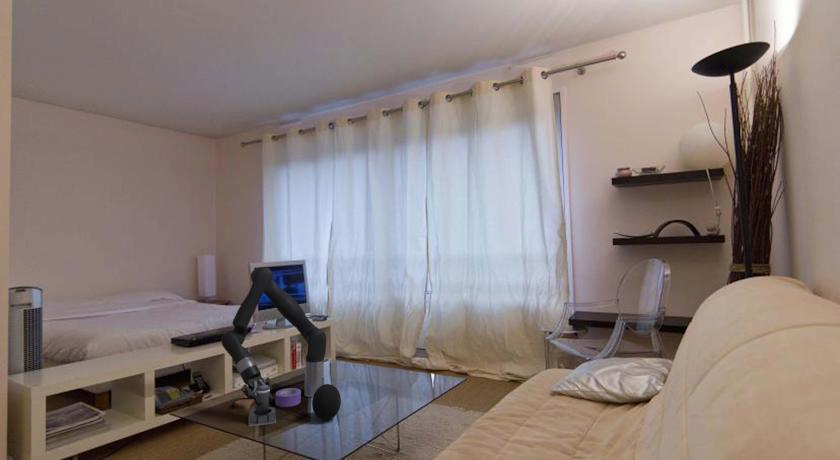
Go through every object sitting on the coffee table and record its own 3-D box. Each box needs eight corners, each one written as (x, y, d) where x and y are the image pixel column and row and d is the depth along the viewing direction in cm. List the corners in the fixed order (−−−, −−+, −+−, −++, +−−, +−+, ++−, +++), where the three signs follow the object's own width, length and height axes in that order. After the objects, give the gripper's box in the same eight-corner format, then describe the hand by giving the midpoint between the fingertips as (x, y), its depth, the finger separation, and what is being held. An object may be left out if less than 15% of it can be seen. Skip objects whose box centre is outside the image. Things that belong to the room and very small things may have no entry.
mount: (274, 413, 184) (275, 405, 184) (276, 423, 174) (276, 414, 174) (248, 416, 180) (249, 408, 180) (248, 426, 170) (249, 417, 170)
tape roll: (277, 408, 190) (277, 397, 190) (273, 400, 200) (273, 389, 201) (302, 404, 195) (303, 394, 196) (298, 396, 206) (298, 386, 206)
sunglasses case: (249, 409, 187) (243, 396, 188) (236, 417, 187) (229, 404, 187) (263, 395, 205) (257, 384, 205) (251, 402, 205) (244, 391, 205)
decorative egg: (325, 427, 170) (327, 391, 171) (305, 420, 177) (306, 385, 178) (346, 418, 181) (347, 383, 182) (325, 411, 187) (327, 378, 188)
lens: (268, 409, 180) (269, 384, 181) (268, 414, 175) (270, 387, 176) (255, 411, 178) (256, 385, 179) (255, 416, 173) (256, 389, 174)
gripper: (238, 368, 175) (256, 402, 169) (265, 361, 188) (283, 392, 181) (229, 378, 177) (247, 413, 171) (256, 371, 190) (273, 402, 184)
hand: (265, 402), depth 176 cm, fingers closed on lens, 5 cm apart
